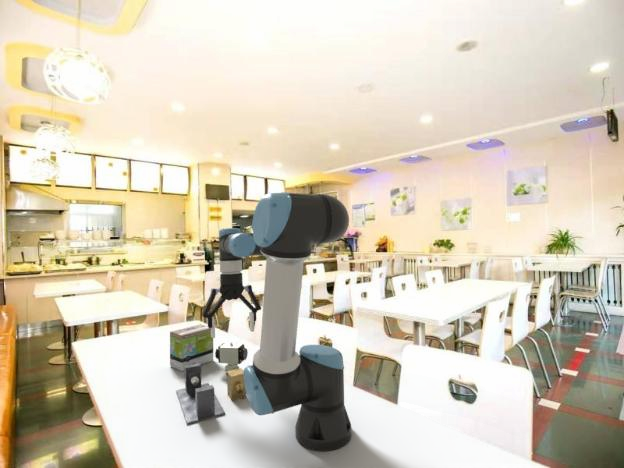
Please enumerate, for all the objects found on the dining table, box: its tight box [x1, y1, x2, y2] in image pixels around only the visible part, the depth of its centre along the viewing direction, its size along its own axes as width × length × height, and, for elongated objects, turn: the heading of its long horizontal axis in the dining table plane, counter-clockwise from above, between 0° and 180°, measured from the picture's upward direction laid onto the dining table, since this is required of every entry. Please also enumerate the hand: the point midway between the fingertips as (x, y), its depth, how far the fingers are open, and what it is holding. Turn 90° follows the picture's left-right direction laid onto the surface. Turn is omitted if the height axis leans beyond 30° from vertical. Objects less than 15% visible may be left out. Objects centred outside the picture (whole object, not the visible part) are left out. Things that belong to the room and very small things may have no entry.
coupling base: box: [175, 363, 226, 426], centre depth 112 cm, size 24×11×9 cm, turn 28°
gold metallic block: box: [226, 367, 247, 402], centre depth 116 cm, size 8×5×8 cm, turn 28°
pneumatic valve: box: [214, 342, 248, 375], centre depth 136 cm, size 6×12×12 cm, turn 78°
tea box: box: [169, 323, 214, 372], centre depth 147 cm, size 15×10×15 cm, turn 143°
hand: (233, 334), depth 119 cm, fingers open, 13 cm apart
